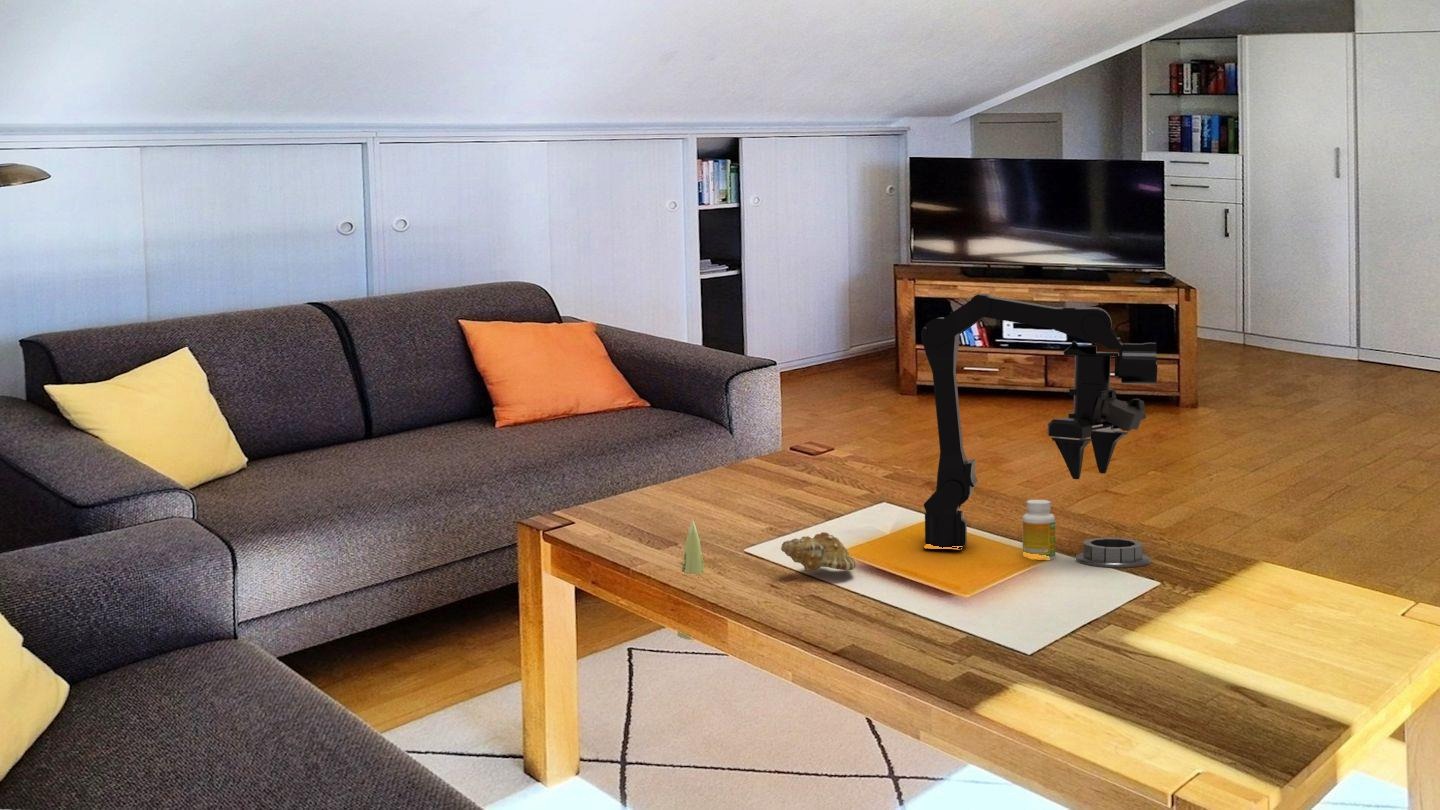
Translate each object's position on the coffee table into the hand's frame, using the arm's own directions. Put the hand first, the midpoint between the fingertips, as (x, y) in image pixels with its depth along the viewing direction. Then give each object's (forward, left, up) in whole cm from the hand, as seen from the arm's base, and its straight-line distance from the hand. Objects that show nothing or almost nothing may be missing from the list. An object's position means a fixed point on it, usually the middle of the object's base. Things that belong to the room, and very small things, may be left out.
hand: (1089, 476), depth 225 cm
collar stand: (+4, -1, -14) cm, 15 cm away
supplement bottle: (-8, -1, -14) cm, 16 cm away
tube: (-64, -20, -25) cm, 72 cm away
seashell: (-40, -18, -15) cm, 46 cm away
